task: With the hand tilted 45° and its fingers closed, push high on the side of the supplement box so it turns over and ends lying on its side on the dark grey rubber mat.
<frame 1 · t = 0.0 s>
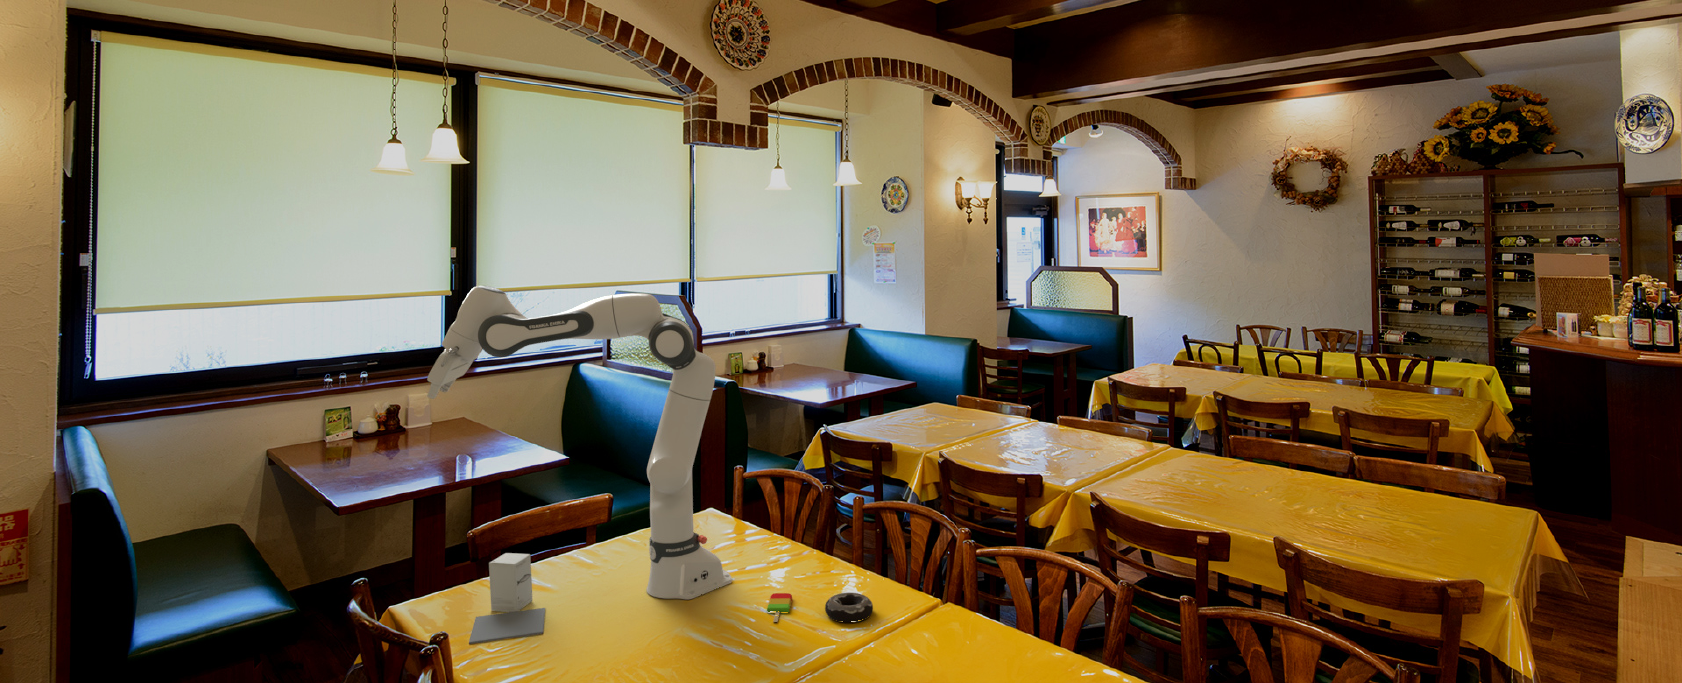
hand: (437, 394, 205), 54 cm above the table, tool tilted 30°, fingers open, 8 cm apart
donut: (849, 615, 202), on the table
rubber mat: (508, 625, 198), on the table
popsicle: (778, 612, 205), on the table
supplement box: (512, 606, 209), on the table
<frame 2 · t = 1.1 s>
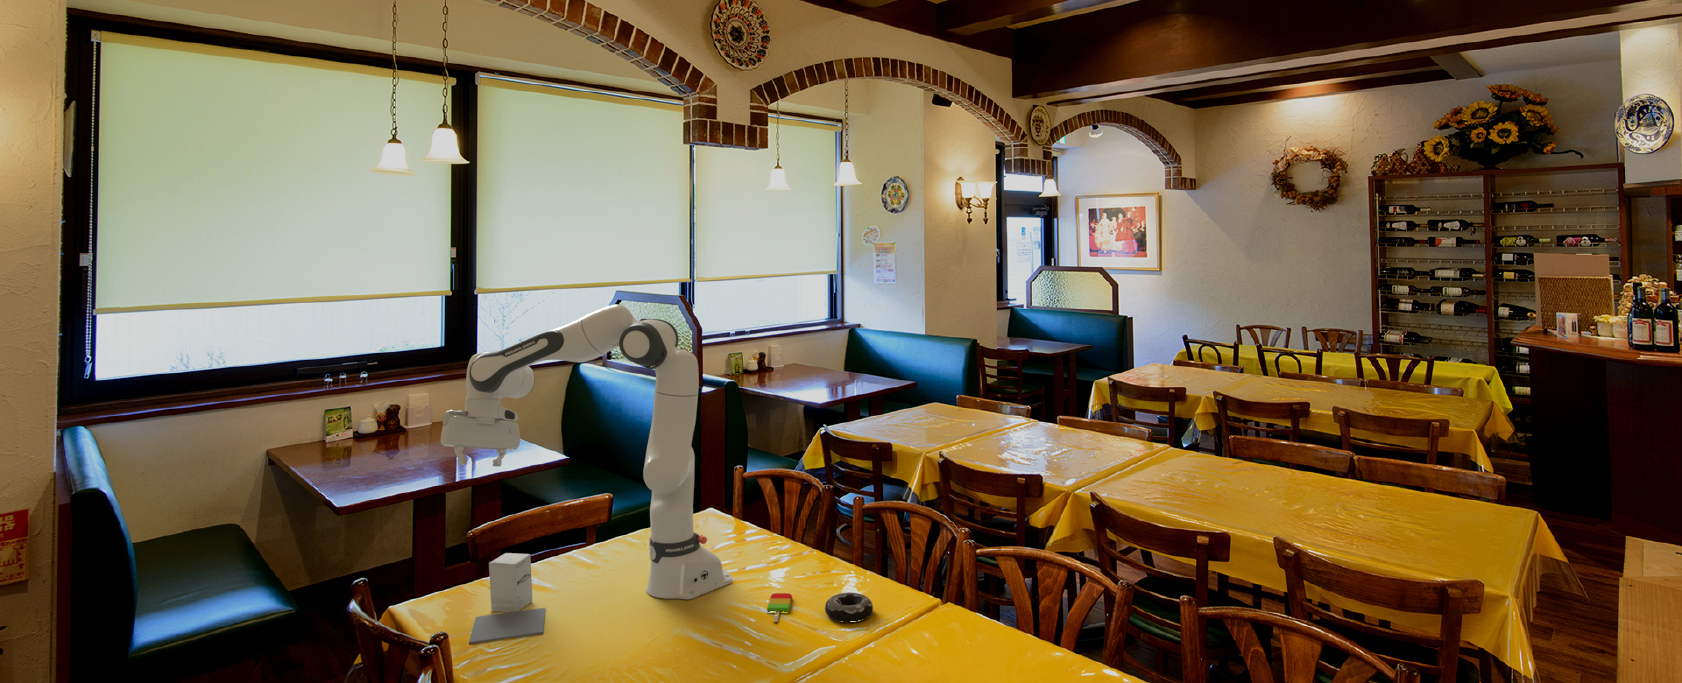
hand: (480, 465, 215), 34 cm above the table, tool tilted 20°, fingers open, 8 cm apart
nothing on the table moved.
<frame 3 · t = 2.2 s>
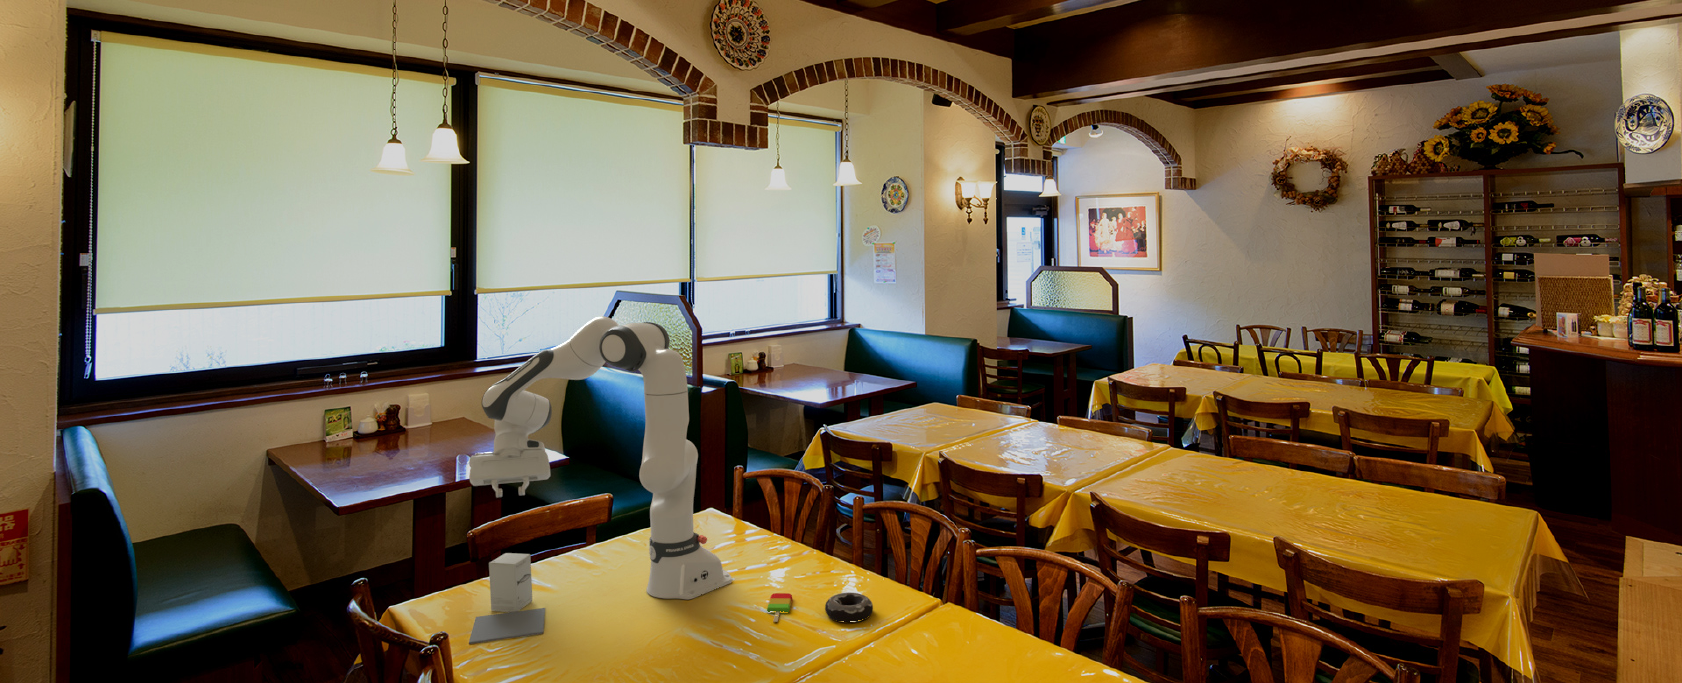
hand: (510, 495, 218), 25 cm above the table, tool tilted 45°, fingers open, 4 cm apart
nothing on the table moved.
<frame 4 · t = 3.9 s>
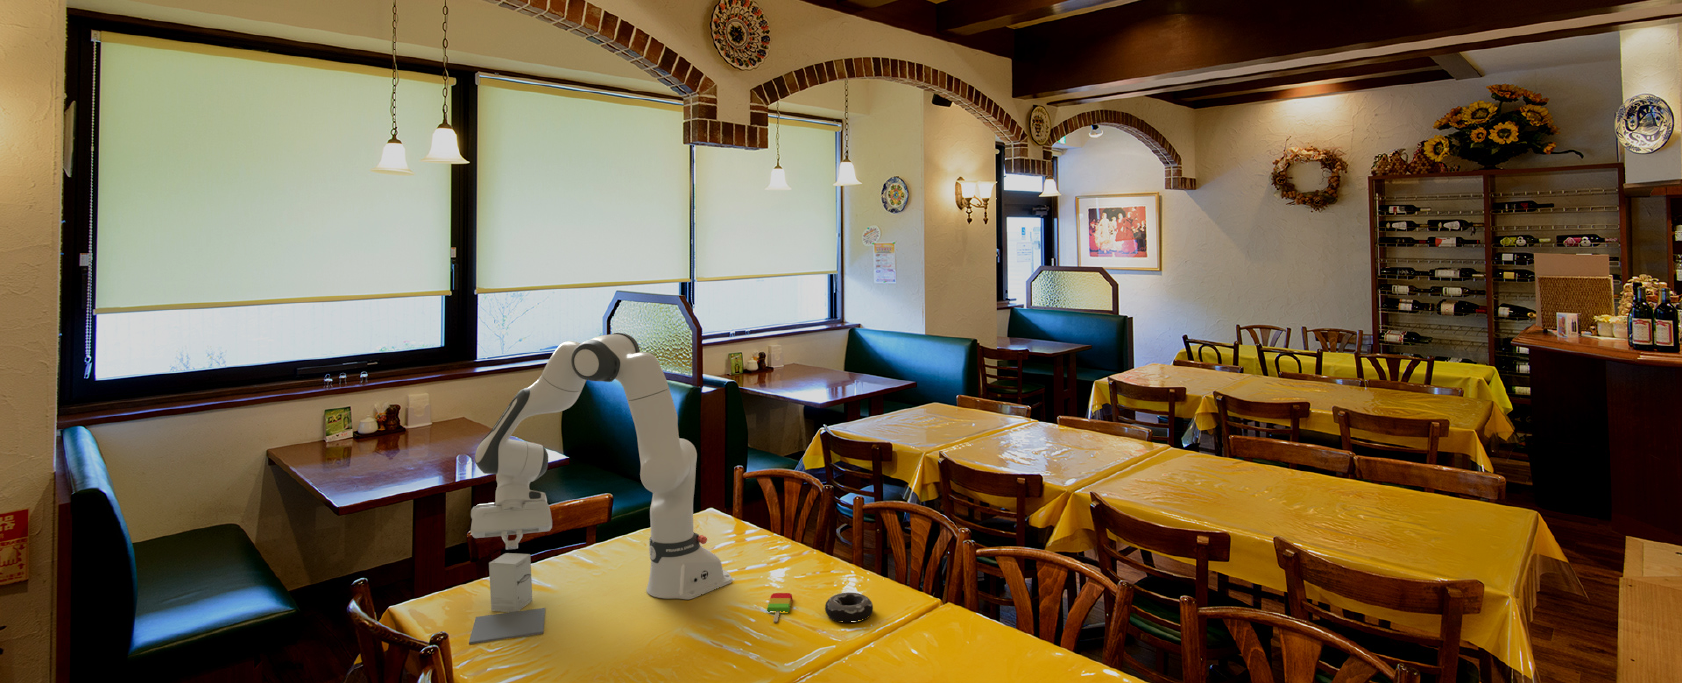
hand: (511, 548, 217), 12 cm above the table, tool tilted 45°, fingers closed
nothing on the table moved.
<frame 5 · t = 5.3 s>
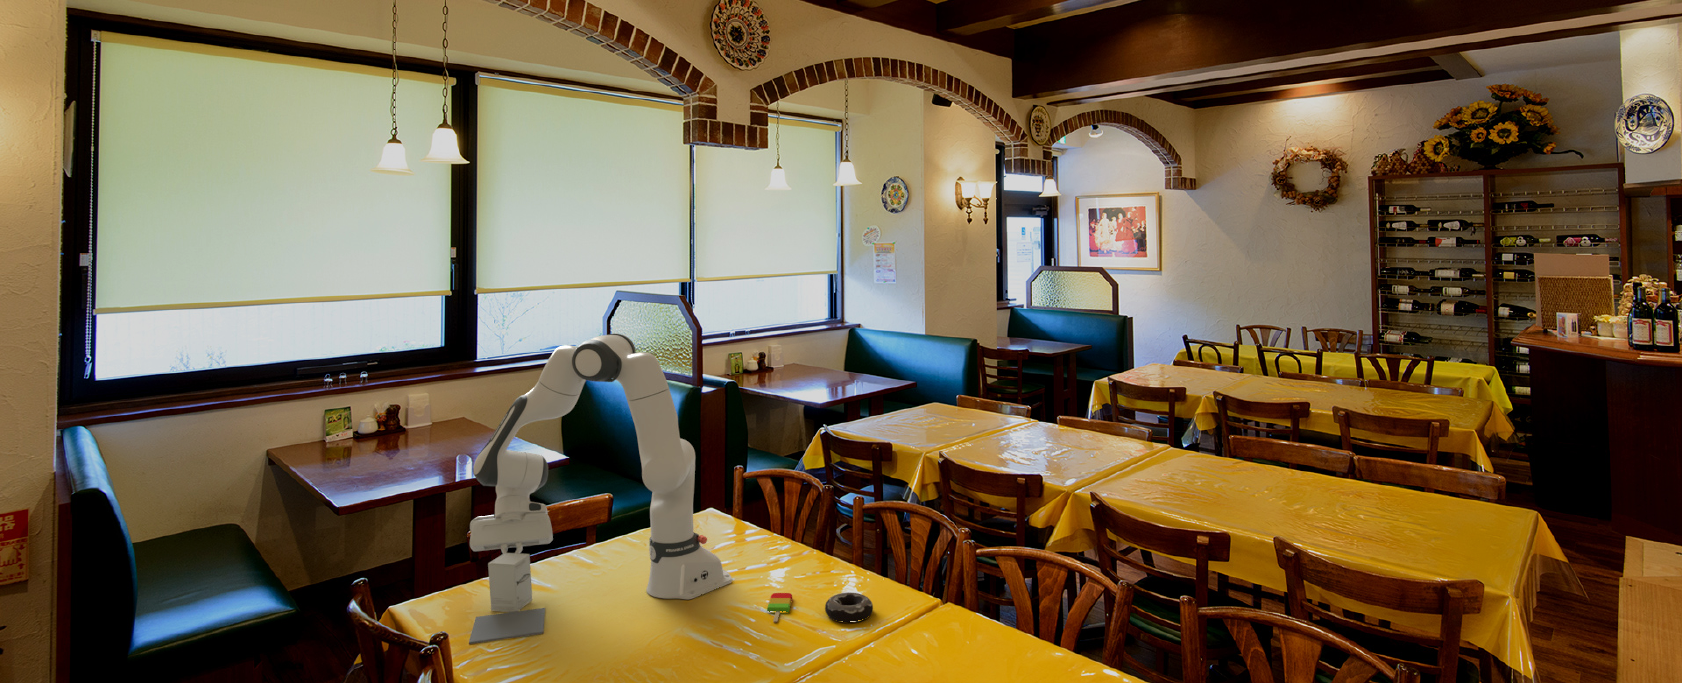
hand: (511, 561, 213), 10 cm above the table, tool tilted 45°, fingers closed
supplement box: (512, 606, 209), on the table, touching gripper
everything else where it was.
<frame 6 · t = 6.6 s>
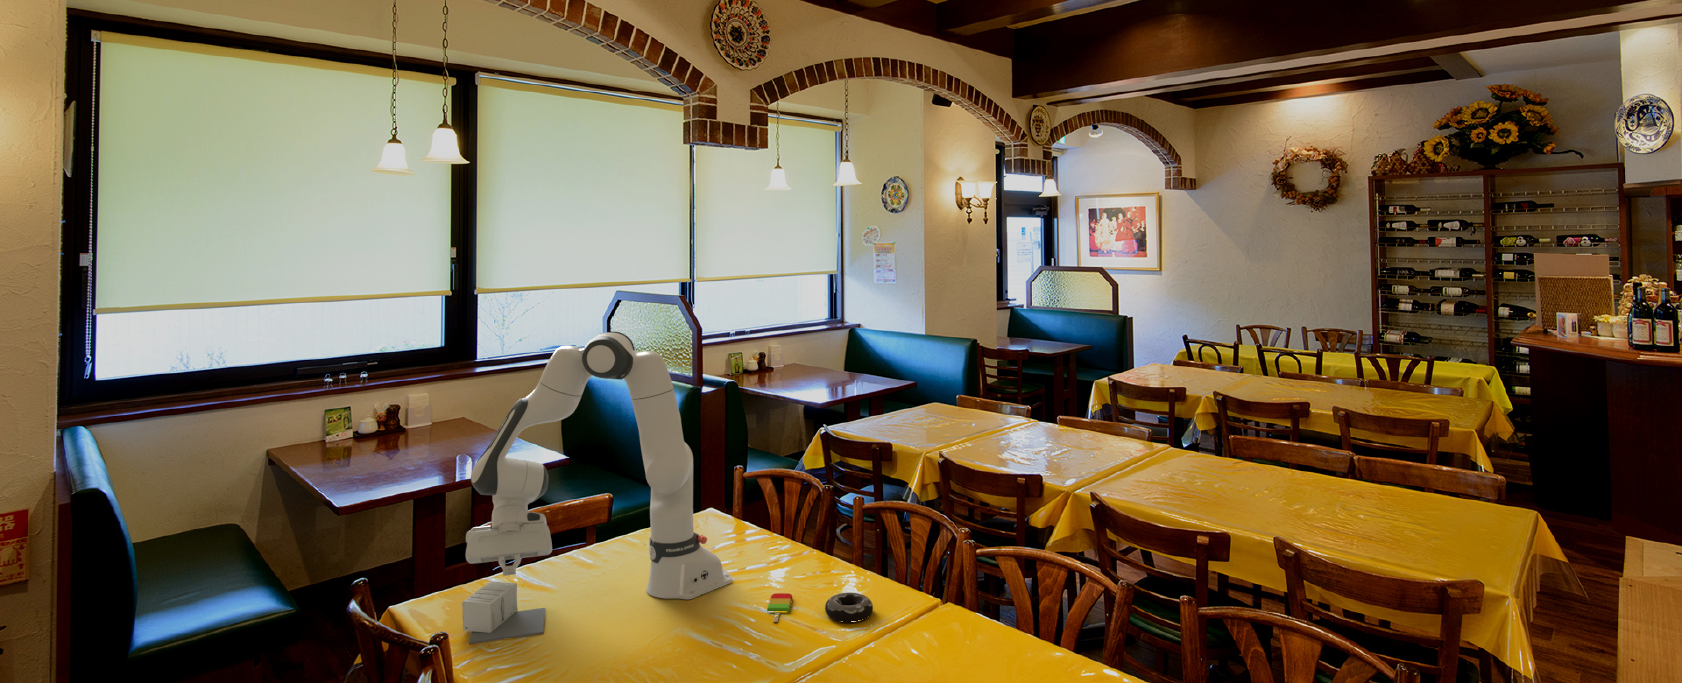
hand: (509, 574, 205), 10 cm above the table, tool tilted 45°, fingers closed
supplement box: (504, 594, 205), point 4 cm above the table, touching rubber mat
everything else where it was.
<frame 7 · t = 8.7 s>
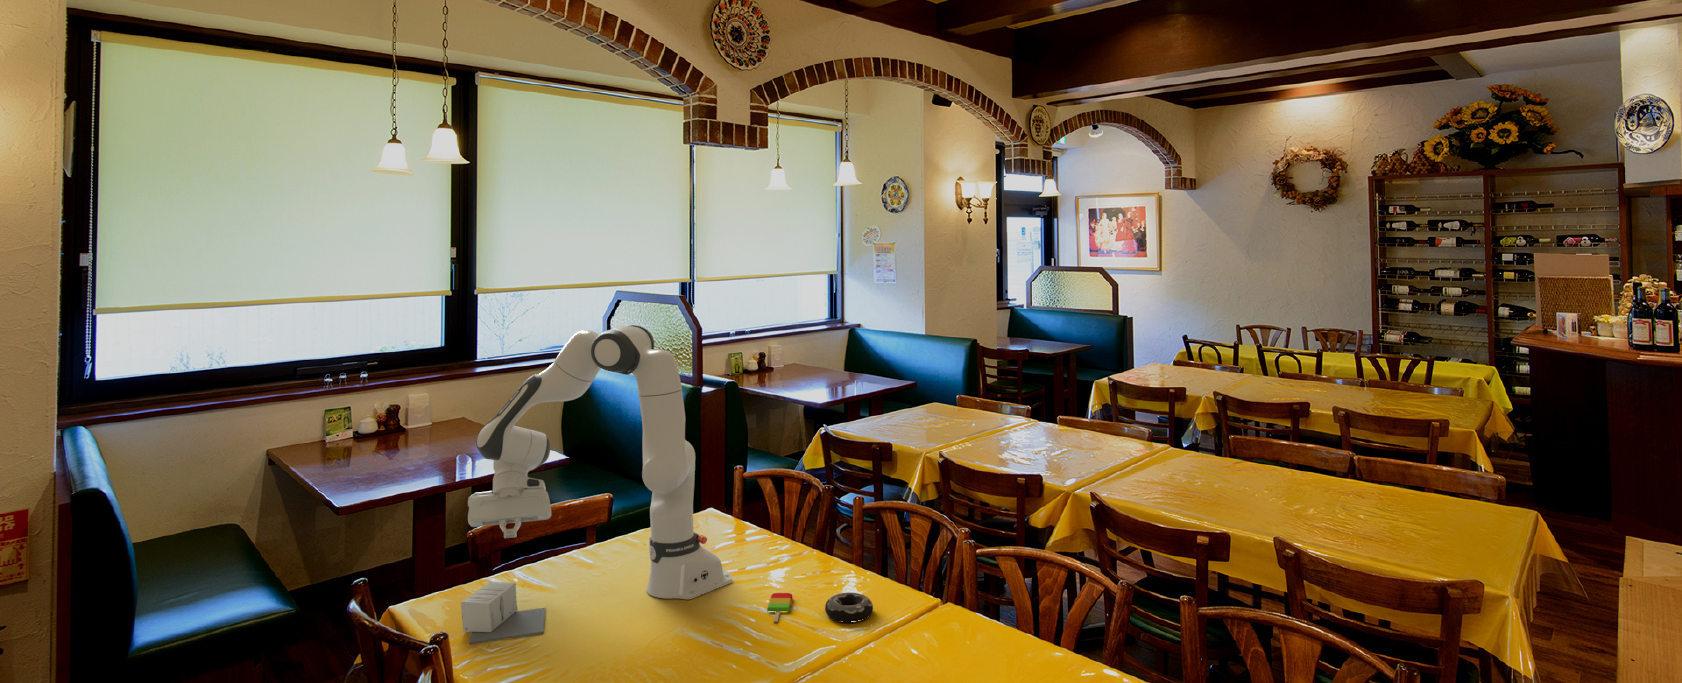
hand: (510, 536, 212), 16 cm above the table, tool tilted 45°, fingers closed
nothing on the table moved.
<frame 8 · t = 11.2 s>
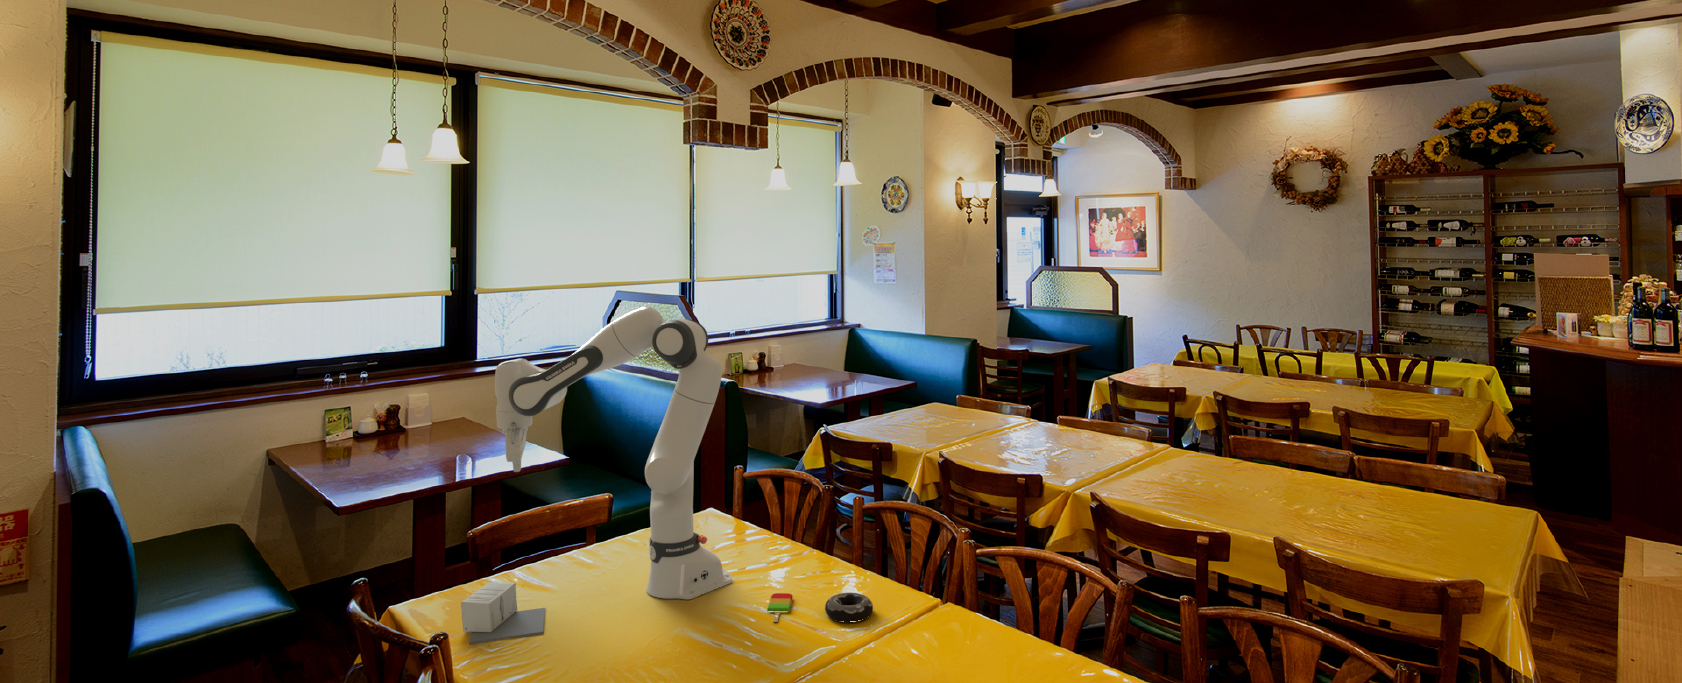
hand: (517, 470, 221), 31 cm above the table, tool pointing down, fingers closed
nothing on the table moved.
at the end: supplement box tilted 90°; supplement box touching rubber mat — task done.
